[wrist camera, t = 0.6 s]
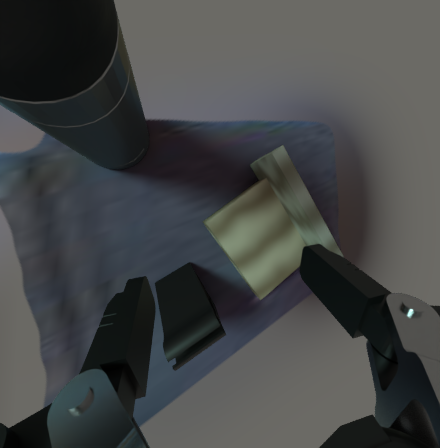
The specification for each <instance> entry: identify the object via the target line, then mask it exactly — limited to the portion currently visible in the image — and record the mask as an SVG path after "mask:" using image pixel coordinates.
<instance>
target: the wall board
mask: <svg viewBox="0 0 440 448" xmlns="http://www.w3.org/2000/svg"><path fill="white" fill-rule="evenodd" d="M250 166H251V168H252V170H253V171H254V173H255V175H256V176H257V178H258V180H259V181H257V182H256V183H255V184H253V185H252V186H251V187H249V188H248V189H246V190H245V191H244V192H242V193H241V194H240V195H238V196H237V197H236V198H234V199H233V200H232V201H230V202H229V203H227V204H226V205H225V206H223V207H222V208H221V209H219V210H218V211H217V212H215V213H214V214H213V215H211V216H210V217H208V218H207V219H206V220H204V221H203V223H204V224H205V226H206V227H207V229H208V230H209V231H210V233H211V234H212V236H213V237H214V238H215V240H216V241H217V243H218V244H219V245H220V247H221V248H222V249H223V251H224V252H225V254H226V255H227V256H228V258H229V259H230V261H231V262H232V263H233V265H234V266H235V268H236V269H237V270H238V272H239V273H240V274H241V276H242V277H243V279H244V280H245V281H246V283H247V284H248V286H249V287H250V288H251V290H252V291H253V293H254V294H255V295H256V296H257V297H258V298H259V299H260V300H262V299H263V298H264V297H265V296H266V295H267V294H269V293H270V292H271V291H272V290H273V289H274V288H275V287H277V286H278V285H279V284H280V283H281V282H282V281H283V280H284V279H286V278H287V277H288V276H289V275H290V274H291V273H292V272H294V271H295V270H296V269H297V268H298V267H299V266H300V263H301V257H302V250H303V248H304V247H305V246H309V245H314V244H321V245H322V246H324V247H325V248H326V249H328V250H329V251H331V252H334V253H336V254H338V255H340V256H342V257H343V255H342V253H341V251H340V249H339V247H338V246H337V244H336V242H335V240H334V238H333V236H332V235H331V233H330V231H329V229H328V227H327V225H326V223H325V222H324V220H323V218H322V216H321V214H320V212H319V211H318V209H317V207H316V205H315V203H314V201H313V200H312V198H311V196H310V194H309V192H308V190H307V189H306V187H305V185H304V183H303V181H302V179H301V177H300V176H299V174H298V172H297V170H296V168H295V166H294V165H293V163H292V161H291V159H290V157H289V155H288V154H287V152H286V150H285V148H284V146H283V145H282V146H281V147H279V148H277V149H275V150H273V151H272V152H270V153H268V154H266V155H264V156H263V157H261V158H259V159H258V160H256V161H255V162H253V163H252V164H251V165H250Z"/></svg>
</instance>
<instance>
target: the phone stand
mask: <svg viewBox="0 0 440 448" xmlns="http://www.w3.org/2000/svg"><path fill="white" fill-rule="evenodd" d="M155 286H156V292H157V297H158V303H159V309H160V315H161V320H162V326H163V332H164V342H163V348H164V353H165V356H166V358H167V361H168V362H169V361H171V360H172V359H174V358H176V364H175V365H173V369H174V370H177V369H178V368H180V367H181V366H183V365H184V364H186V363H187V362H188V361H190V360H191V359H193V358H194V357H195V356H197V355H198V354H200V353H201V352H202V351H204V350H205V349H207V348H208V347H209V346H211V345H212V344H214V343H215V342H216V341H218V340H219V339H221V338H222V337H223V336H225V335H226V333H225V331H224V329H223V326H222V324H221V322H220V319H219V316H218V313H217V310H216V307H215V305H214V303H213V302H212V300H211V298H210V296H209V295H208V293H207V291H206V290H205V288H204V286H203V285H202V283H201V281H200V279H199V278H198V276H197V274H196V272H195V271H194V269H193V267H192V266H191V264H190V262H189V263H187V264H186V265H184V266H182V267H181V268H179V269H177V270H176V271H174V272H172V273H171V274H169V275H167V276H166V277H164V278H162V279H161V280H159V281H157V282H156V283H155Z"/></svg>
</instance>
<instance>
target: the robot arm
mask: <svg viewBox="0 0 440 448" xmlns="http://www.w3.org/2000/svg"><path fill="white" fill-rule="evenodd" d="M0 105H1V106H3V107H4V108H6V109H8V110H9V111H11V112H13V113H15V114H16V115H18V116H19V117H21V118H23V119H24V120H26V121H28V122H29V123H31V124H33V125H34V126H36V127H37V128H39V129H41V130H42V131H44V132H45V133H47V134H49V135H50V136H52V137H53V138H55V139H57V140H58V141H60V142H62V143H63V144H65V145H66V146H68V147H70V148H71V149H73V150H74V151H76V152H78V153H79V154H81V155H82V156H84V157H86V158H87V159H89V160H91V161H92V162H94V163H96V164H97V165H99V166H102V167H105V168H109V169H125V168H129V167H131V166H133V165H135V164H137V163H138V162H139V161H140V160H141V159H142V158H143V157H144V155H145V154H146V152H147V149H148V145H149V133H148V129H147V125H146V121H145V117H144V113H143V109H142V105H141V102H140V98H139V94H138V90H137V86H136V83H135V79H134V75H133V71H132V67H131V64H130V60H129V56H128V53H127V49H126V45H125V42H124V38H123V34H122V30H121V27H120V23H119V19H118V16H117V12H116V8H115V4H114V0H0ZM300 275H301V278H302V279H303V281H304V282H305V283H306V284H307V286H308V287H309V288H310V289H311V290H312V291H313V293H314V294H315V295H316V296H317V297H318V298H319V300H320V301H321V302H322V303H323V304H324V305H325V307H327V309H328V310H329V311H330V312H331V314H332V315H333V316H334V317H335V318H336V319H337V321H338V322H339V323H340V324H341V325H342V326H343V327H344V329H345V330H346V331H347V332H348V333H349V334H350V336H351V337H352V338H356V337H359V336H363V335H364V336H365V337H366V338H367V339H368V340H367V343H366V346H367V352H368V357H369V362H370V367H371V371H372V376H373V381H374V386H375V391H376V406H375V417H374V416H373V415H370V416H367V417H364V418H361V419H359V420H356V421H353V422H350V423H347V424H345V425H342V426H340V427H339V428H338V429H337V430H336V431H335V432H334V433H333V434H332V435H331V436H330V437H329V438H328V439H327V440H326V442H324V443H323V444H322V445H321V446H320V448H440V306H430V305H428V304H427V303H425V302H423V301H422V300H420V299H418V298H416V297H413V296H410V295H407V294H402V293H391V292H390V291H388V290H387V289H386V288H384V287H383V286H382V285H380V284H379V283H377V282H376V281H375V280H373V279H372V278H371V277H369V276H368V275H367V274H365V273H364V272H363V271H361V270H359V269H358V268H357V267H356V266H355V265H353V264H351V262H349V261H348V260H347V259H345V258H344V257H342V256H340V255H338V254H336V253H334V252H331V251H329V250H328V249H326V248H325V247H324V246H322V245H321V244H314V245H309V246H305V247H304V248H303V250H302V257H301V263H300ZM154 320H155V301H154V297H153V294H152V291H151V288H150V285H149V282H148V279H147V277H146V276H144V277H139V278H134V279H129V280H128V281H127V283H126V286H125V289H124V292H122V293H117V294H116V295H115V296H114V297H113V298H112V300H111V301H110V302H109V303H108V305H107V307H106V310H105V312H104V315H103V318H102V320H101V322H100V325H99V328H98V330H97V332H96V334H95V337H94V339H93V342H92V344H91V347H90V349H89V352H88V354H87V357H86V359H85V362H84V364H83V367H82V369H81V371H80V373H79V375H77V376H76V377H75V378H73V379H72V380H71V381H70V382H68V383H67V384H66V385H65V386H64V387H63V389H62V390H61V391H60V392H59V394H58V395H57V396H56V398H55V400H54V401H53V403H51V404H50V405H48V406H47V407H45V408H43V409H42V410H40V411H38V412H37V413H35V414H33V415H31V416H30V417H28V418H26V419H25V420H23V421H21V422H19V423H17V424H16V425H14V426H12V427H10V428H7V427H6V426H5V425H3V424H2V423H0V448H150V447H149V445H148V443H147V441H146V439H145V437H144V436H143V434H142V432H141V430H140V428H139V426H138V424H137V423H136V421H135V419H134V417H133V411H134V404H135V399H137V398H141V397H144V396H146V387H147V379H148V370H149V362H150V353H151V345H152V336H153V328H154Z"/></svg>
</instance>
